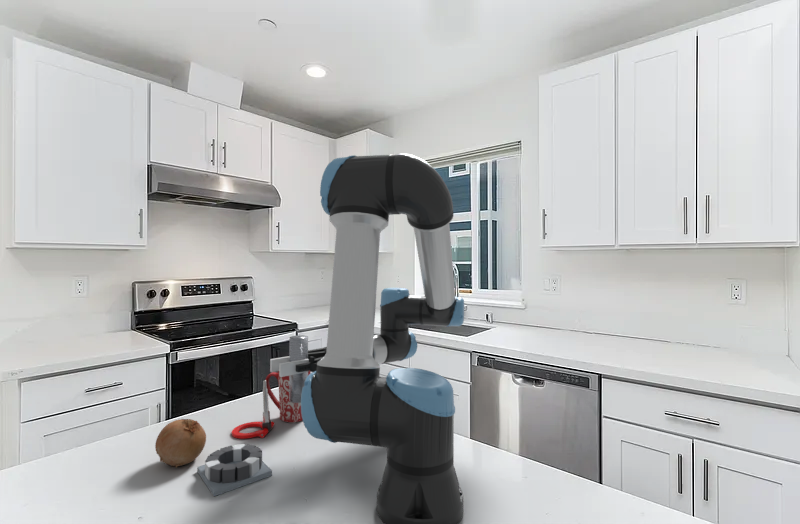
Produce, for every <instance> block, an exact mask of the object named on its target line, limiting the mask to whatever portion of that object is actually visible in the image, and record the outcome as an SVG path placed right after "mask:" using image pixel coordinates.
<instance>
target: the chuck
mask: <svg viewBox="0 0 800 524" xmlns="http://www.w3.org/2000/svg"><path fill="white" fill-rule="evenodd" d="M196 471H197V473H198V475H199V476H200V478H201V480H202V482H204V484H205V486H206V487H207V488H208V490H209V492H210V493H211V495H212V496H213V497H217V496H219V495H221V494H224V493H227V492H230V491H233V490H236V489H239V488H240V487H244V486H246V485H250V484H252V483H255V482H258V481H261V480H263V479H266V478H268V477H271V476H272V475H273V470H272V469H271V468H270V467H269V466H268V465H267V464H266V463H265V462H264V461H263V450H262V449H261V448H260V447H259V446H257V445H255V444H254V445H253V444H249V443H247V444H245V443H242V444H241V443H239V444H234V445H233V446H232V445H228V446H225V447H221V448H220V449H216V450H214V451H213V452H212V453H210V454H209V455H208V456H207V457H206V459H205V461H204V464H203V465H200V466H196Z"/></svg>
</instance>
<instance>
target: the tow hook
mask: <svg viewBox="0 0 800 524" xmlns="http://www.w3.org/2000/svg"><path fill="white" fill-rule="evenodd" d="M262 384H263V386H262V388H263V389H262V403H263V406H262V407H263V411H262V421H250V422H249V421H248V422H246V423H242V424H239V425H238V426H236V427H234V428H233V429H232V430H231V435H232V437H233V438H235V439H239V440H244V439H246V440H247V439H252V438H255V437H259V438H261V439H264V438H265V436H267V434H269V433H270V432H271V431H272V429H273V428H274V426H275V422H274V421H272V420H271V414H270V413H271V412H270V410H269V409H270V408H269V395H268V389H267V384H266V379H265V380H263V381H262ZM253 427H254V428H255V427H256V428H261V429H258V430H256V431H253V432H241V431H242V430H245V429H247V428H253Z"/></svg>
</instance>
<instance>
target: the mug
mask: <svg viewBox="0 0 800 524" xmlns="http://www.w3.org/2000/svg"><path fill="white" fill-rule="evenodd" d="M309 374H311V372H310V370H309V372H308V375H309ZM271 377H274V378H276V380H277V383H278V399H279V400H278V399H277V397H276V396H275V394H274V392H273V391H272V389H271V387H270V378H271ZM265 380H266V384H267V389H268V397H269V398H270V399H271V401H272V402H273V404H274V405H275V406H276V408H277V409H278V411H279V420H281V421H282V422H283V423H284V422H285V423H297V422H301V421H302V422H303V419H302V414H301V403H292V402H290V401H289V376H284V377H279V371H276V372H270V373H269V374H267V375H266V377H265Z"/></svg>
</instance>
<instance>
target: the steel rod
mask: <svg viewBox="0 0 800 524" xmlns="http://www.w3.org/2000/svg"><path fill="white" fill-rule="evenodd" d="M288 347H289V352H288V355H289V362H291V361H297V360H303V359H308V350H309V336H308V335H301V334H300V335H291V336H289V346H288ZM307 376H308V372H305V373H300V374H295V375H289V401H290V402H292V403H301V394H302V389H303V387H304V386H305V385H304V382H305V380H306V378H307Z"/></svg>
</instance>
